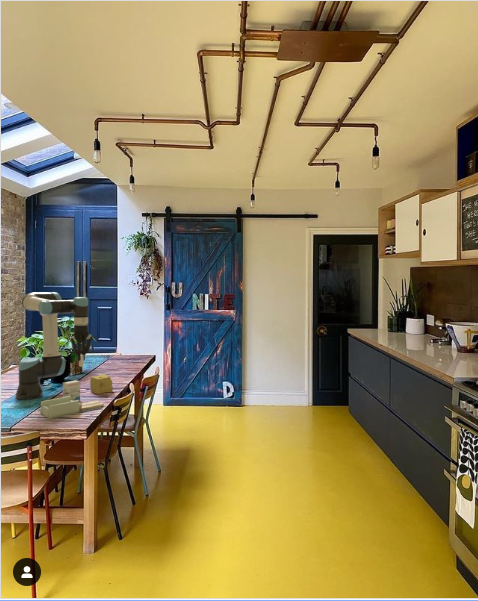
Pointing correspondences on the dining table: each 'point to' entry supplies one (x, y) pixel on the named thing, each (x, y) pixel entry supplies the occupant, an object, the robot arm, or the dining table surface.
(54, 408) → the sage box
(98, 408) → the rubber mat
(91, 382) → the cheese
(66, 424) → the dining table surface
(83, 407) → the cover plate
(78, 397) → the ink box
